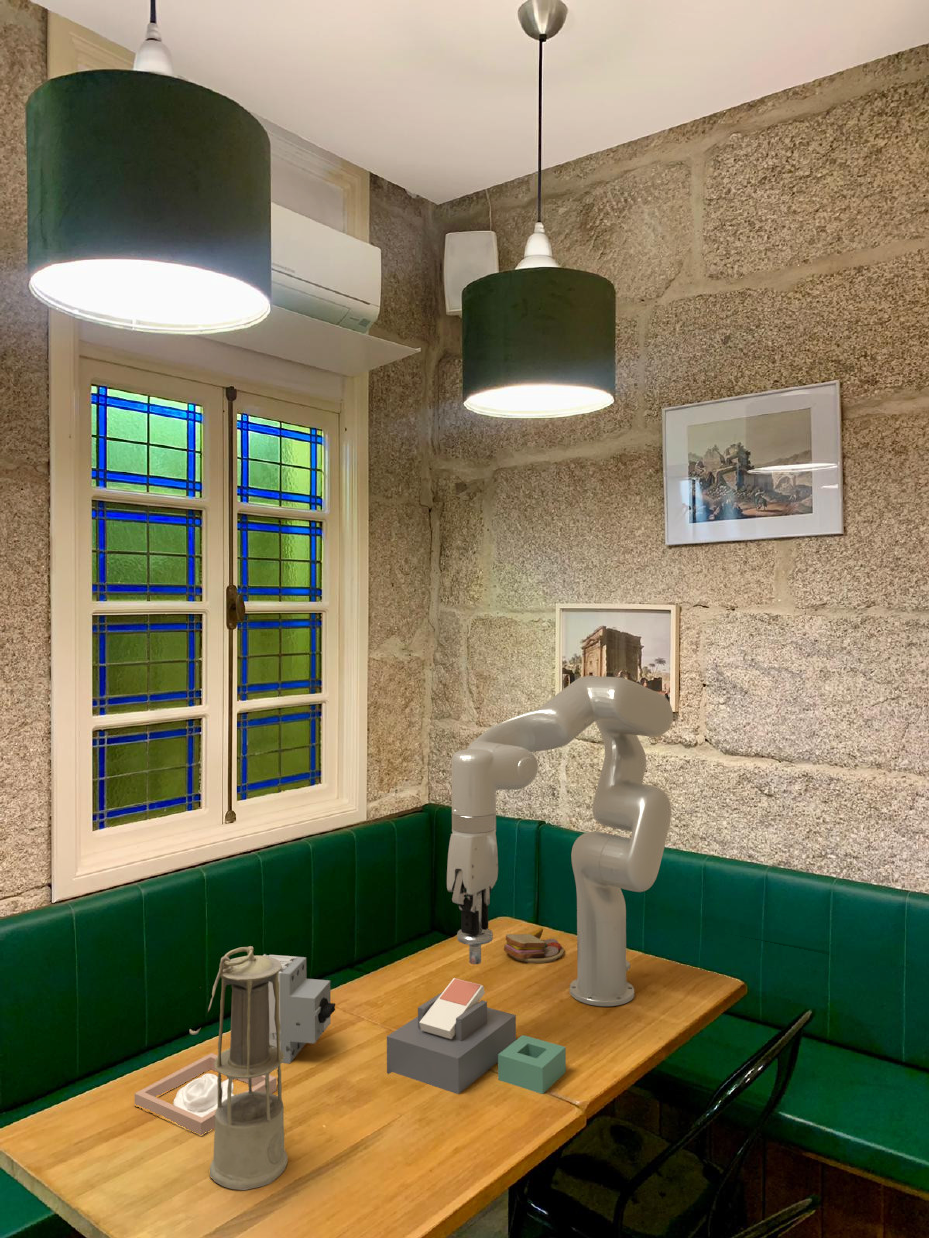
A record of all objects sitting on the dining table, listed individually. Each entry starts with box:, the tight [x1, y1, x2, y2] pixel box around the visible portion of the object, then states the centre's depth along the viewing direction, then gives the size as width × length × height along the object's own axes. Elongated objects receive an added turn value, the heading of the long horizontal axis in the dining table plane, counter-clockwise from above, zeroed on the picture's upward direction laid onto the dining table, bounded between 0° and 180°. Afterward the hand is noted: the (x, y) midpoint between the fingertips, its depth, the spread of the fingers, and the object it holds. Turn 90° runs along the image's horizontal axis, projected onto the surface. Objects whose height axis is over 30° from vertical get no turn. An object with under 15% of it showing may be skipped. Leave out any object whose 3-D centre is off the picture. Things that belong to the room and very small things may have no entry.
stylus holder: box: [497, 1034, 567, 1095], centre depth 144 cm, size 8×8×4 cm
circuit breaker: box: [262, 953, 336, 1065], centre depth 153 cm, size 8×14×15 cm, turn 78°
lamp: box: [189, 945, 288, 1191], centre depth 120 cm, size 10×13×30 cm
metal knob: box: [456, 891, 494, 965], centre depth 152 cm, size 6×6×12 cm
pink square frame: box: [134, 1052, 277, 1135], centre depth 139 cm, size 15×15×2 cm
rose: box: [172, 1073, 235, 1117], centre depth 136 cm, size 10×4×10 cm
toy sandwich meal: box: [503, 927, 565, 964], centre depth 198 cm, size 12×14×5 cm
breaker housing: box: [386, 991, 517, 1095], centre depth 150 cm, size 18×14×10 cm
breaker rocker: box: [419, 977, 486, 1039], centre depth 150 cm, size 11×6×2 cm, turn 147°
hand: (474, 929), depth 152 cm, fingers closed on metal knob
